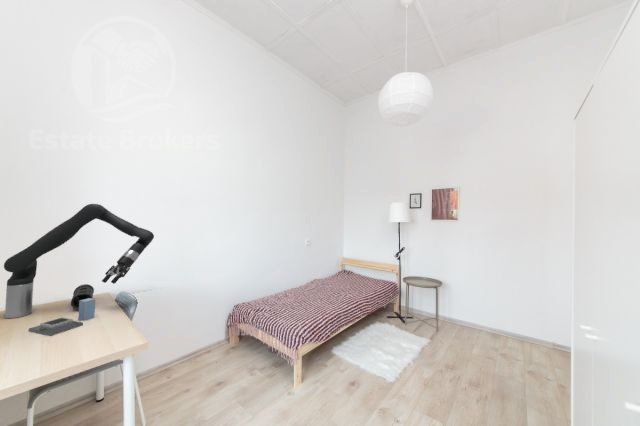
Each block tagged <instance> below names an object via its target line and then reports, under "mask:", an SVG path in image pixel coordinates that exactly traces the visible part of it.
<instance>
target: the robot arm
mask: <svg viewBox="0 0 640 426" xmlns="http://www.w3.org/2000/svg"><path fill="white" fill-rule="evenodd" d="M96 219H97V220H99V221H102V222H105V223H107V224H109V225H110V226H113V227H114V228H115V229H116V230H118V231H120V232H122V233H124V234H126V235H128V236H130V237H136V238H138V239H137V240H136V242H135V243H133V244H132V245H131V246H130V247H129V248H128V249H127V250H126V251H125V252H124V253H123V254H122V255H121V256H120V258H119V259H118V260H117V261H116V263H117V264H116V266H115V265H112V266H111V267H110V268H108V270H107V271H106V272H105V276H104V278H103V279H102V280H101V282H102V283H104V284H105V283H107V282H108V281H109V280H110V279H111V277H113V276H114V277H113V278H112V280H111V281H110V283H112V284H113V285H115V284H116V283H117V282H118V281H119V279H121V278H124V277H125V276H126V275H127V274H128V272H129V271H130V270H131V267H132V265H134V263H135V262H136V261H137V260H138V258H139V257H140V256H141V255H142V253H143V252H144V250H145V249H146V248H147V247H148V246H149V245H150V243H152V242H153V240H154V237H155V234H154V233H153V232H152V231H150V230H148V229H145V228H142V227H139V226H137V225H135V224H133V223H131V222H130V221H128V220H125V219H123V218H121V217H120V216H118V215H116V214H115V213H112V212H111V211H109V209H108V208H106V207H104V206H103V205H101V204H98V203H90V204H86V205H85V206H83V207H82V208H80V210H78V212H76V213H75V214H74V215H73V216H71V217H70V218H68V219H67V220H65V221H63V222H61V223H60V224H59V225H57V226H55V227H54V228H52V229H51V230H49V231H48V232H47V233H45V234H44V235H43V236H41V237H40V238H38V239H37V240H35V241H34V242H32V244H30V245H29V246H27V247H26V248H25V249H23V250H21V251H19V252H17V253H15V254H13V255H12V256H10V257H8V258H7V259H6V260H5V261H4V263H3V269H4V270H5V271H6V272H9V273H12V274H11V276H10V277H9V278H8V280H7V282H6V289H5V290H6V291H5V295H6V296H5V306H4V307H5V308H4V309H5V310H4V318H5V319H14V318H15V319H16V318H20V317H24V316H25V317H26V316H28V315H30V314H32V313H33V312H32V310H33V309H32V308H33V298H34V297H33V295H34V280H35V277H36V275H37V268H38V260H37V259H39V258H40V257H42V256H43V255H45V254H47V253H49V252H51V251H53V250H55V249H57V248H59V247H61V246H62V245H64V244H65V243H67V242H68V241H70V240H71V239H72V238H73V237H75V235H77V233H78V232H79V231H80V230H81V229H82V228H83V227H84V226H86V225H87V224H89V223H92V221H94V220H96ZM115 275H116V276H115Z"/></svg>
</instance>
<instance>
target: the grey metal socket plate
mask: <svg viewBox="0 0 640 426" xmlns="http://www.w3.org/2000/svg"><path fill="white" fill-rule="evenodd" d="M83 325H84V323H83V322H80V321H75V320H74V319H73V318H68V317H63V316H61V317H58V318H55V319H52V320H48V321H44V322H42V323H39V325H36V326H34V327H33V326H32V327H30V328H28V332H29V333H35V334H40V335H45V336H50V337H51V336H55V335H57V334H61V333H63V332H66V331H67V332H68V331H70V330H73V329H76V328H78V327H82V326H83Z"/></svg>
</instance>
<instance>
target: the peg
mask: <svg viewBox="0 0 640 426" xmlns="http://www.w3.org/2000/svg"><path fill="white" fill-rule="evenodd" d="M95 308H96V299H95V298H93V299H92V298H88V299H84V300H80V301H79V309H78V319H77V321H78V320H79V321H82V320H83V322H85V321H88V320H91V319H94V318H95V310H96V309H95Z"/></svg>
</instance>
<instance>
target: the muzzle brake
mask: <svg viewBox="0 0 640 426" xmlns="http://www.w3.org/2000/svg"><path fill="white" fill-rule="evenodd" d="M94 292H95V289H94V286H92V285H91V284H81V285H78V286H77V287H76V288H75V289H74V291H73V294H72V295H73V296H72V298H71V301H70V305H71V307H72V308H73V309H75V310H79V301H80V300H84V299H88V298H92V299H94Z"/></svg>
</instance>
